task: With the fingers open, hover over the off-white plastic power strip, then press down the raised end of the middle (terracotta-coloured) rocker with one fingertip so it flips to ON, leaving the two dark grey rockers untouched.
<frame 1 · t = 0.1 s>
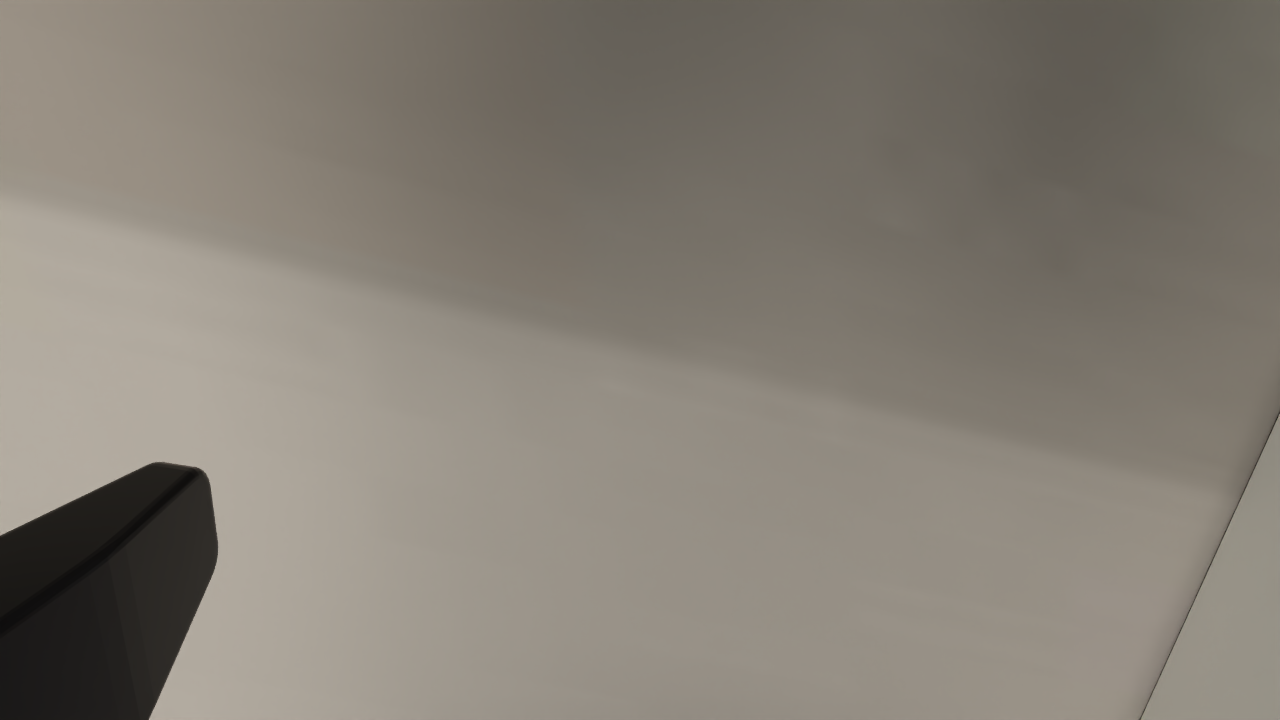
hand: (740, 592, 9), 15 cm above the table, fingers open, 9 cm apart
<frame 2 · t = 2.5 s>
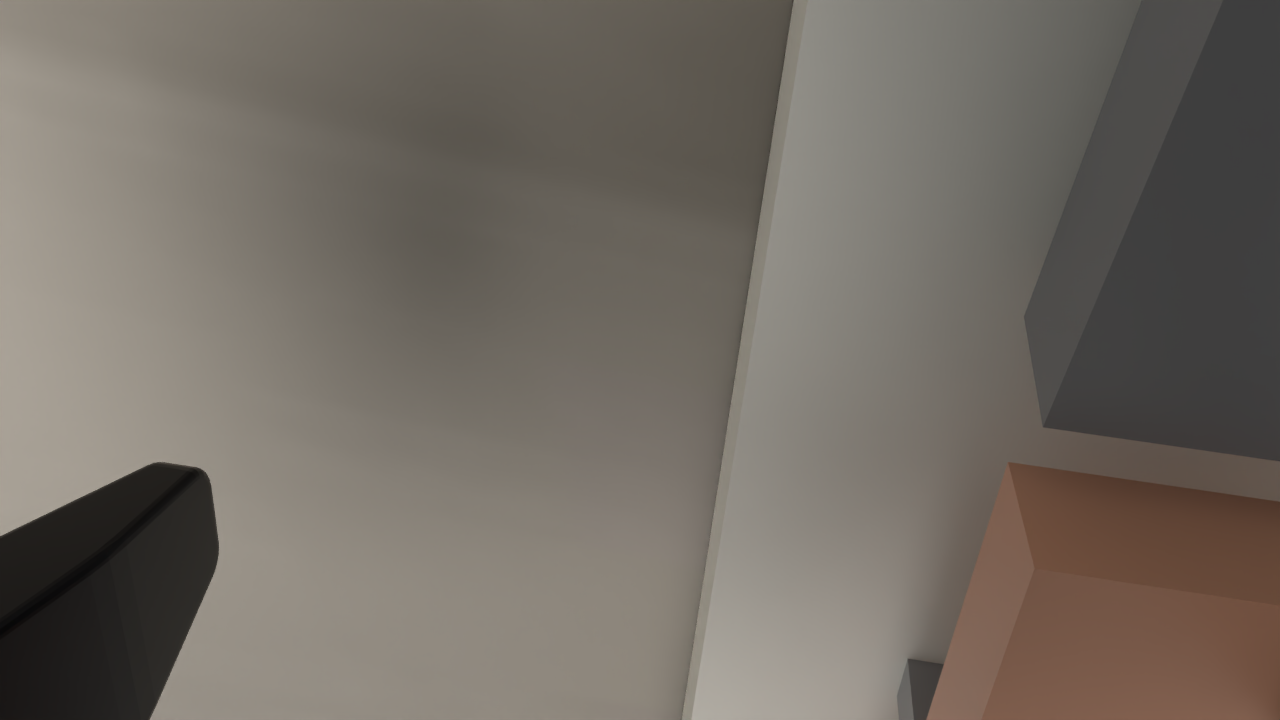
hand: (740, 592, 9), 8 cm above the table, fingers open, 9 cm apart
power strip: (1025, 456, 17), on the table
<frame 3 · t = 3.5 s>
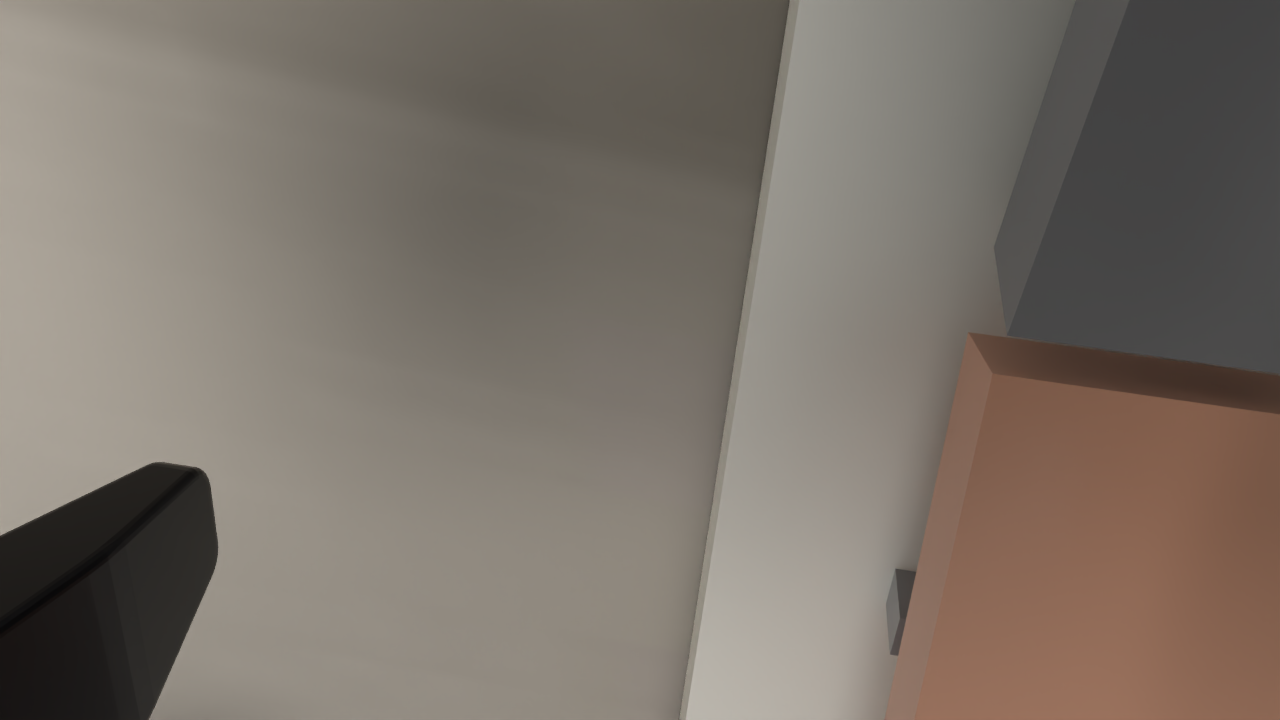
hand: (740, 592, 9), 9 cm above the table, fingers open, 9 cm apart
power strip: (1007, 402, 19), on the table
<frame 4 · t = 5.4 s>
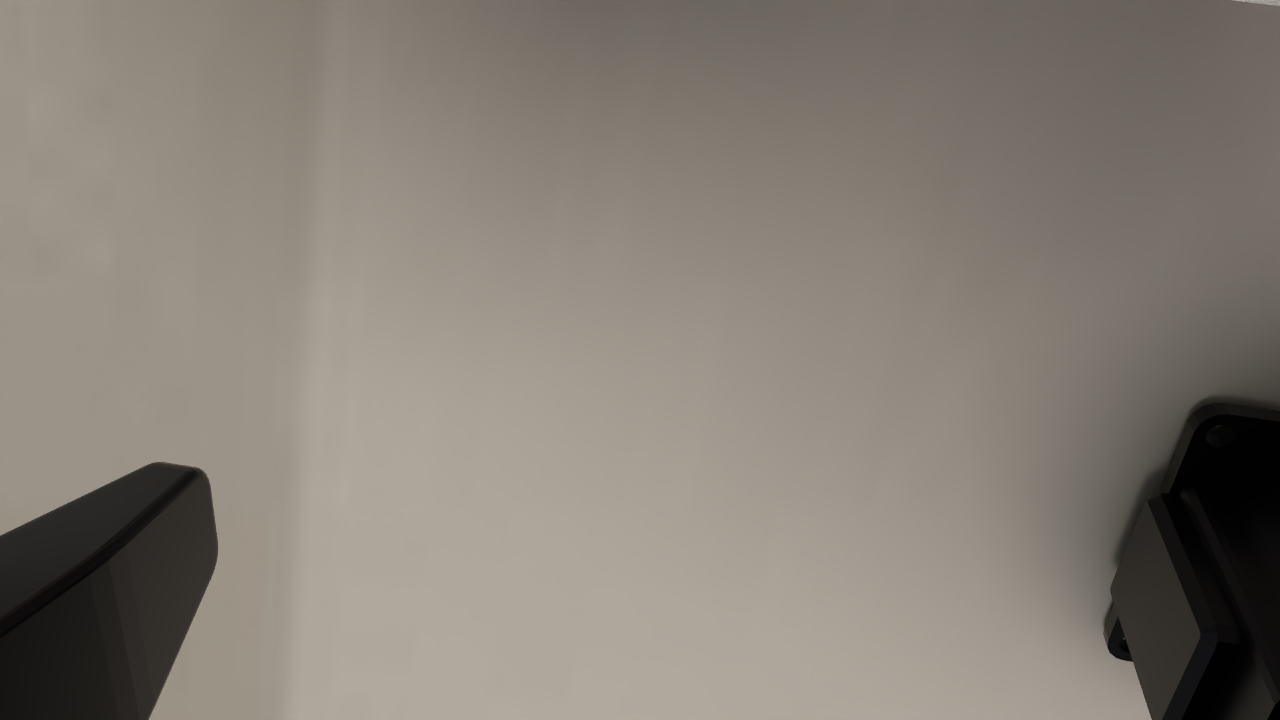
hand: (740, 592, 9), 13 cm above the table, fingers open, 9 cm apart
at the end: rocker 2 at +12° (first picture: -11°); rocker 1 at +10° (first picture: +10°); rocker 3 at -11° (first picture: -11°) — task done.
